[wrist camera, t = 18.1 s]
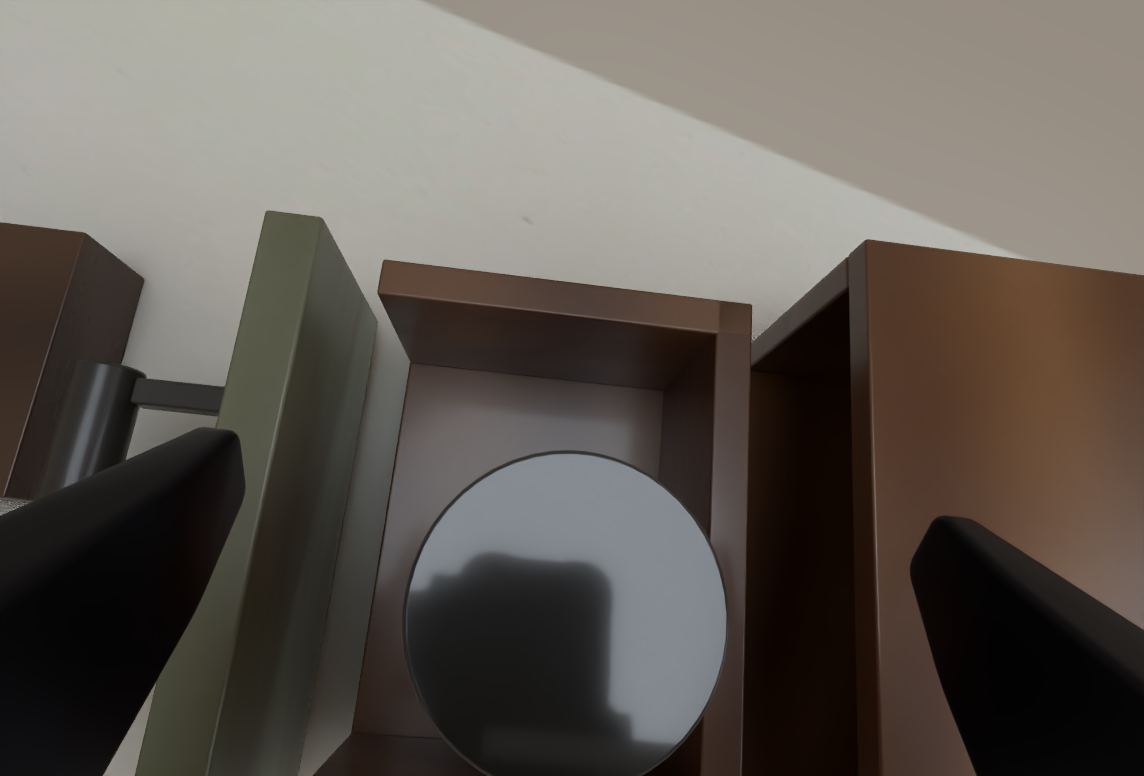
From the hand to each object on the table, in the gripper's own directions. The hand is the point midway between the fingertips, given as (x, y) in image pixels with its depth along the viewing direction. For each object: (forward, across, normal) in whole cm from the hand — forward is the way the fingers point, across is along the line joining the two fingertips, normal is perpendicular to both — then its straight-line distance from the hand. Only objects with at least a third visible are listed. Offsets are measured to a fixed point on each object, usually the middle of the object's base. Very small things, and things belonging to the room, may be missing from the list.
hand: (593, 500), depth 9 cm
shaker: (+6, 0, +8) cm, 10 cm away
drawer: (+7, +4, +8) cm, 11 cm away
